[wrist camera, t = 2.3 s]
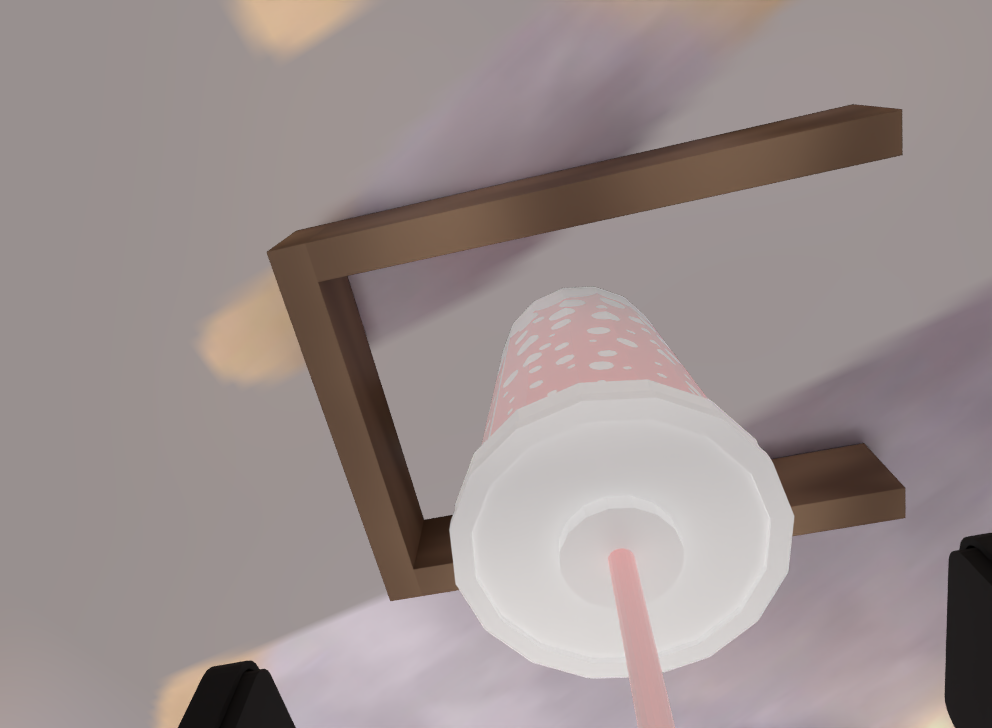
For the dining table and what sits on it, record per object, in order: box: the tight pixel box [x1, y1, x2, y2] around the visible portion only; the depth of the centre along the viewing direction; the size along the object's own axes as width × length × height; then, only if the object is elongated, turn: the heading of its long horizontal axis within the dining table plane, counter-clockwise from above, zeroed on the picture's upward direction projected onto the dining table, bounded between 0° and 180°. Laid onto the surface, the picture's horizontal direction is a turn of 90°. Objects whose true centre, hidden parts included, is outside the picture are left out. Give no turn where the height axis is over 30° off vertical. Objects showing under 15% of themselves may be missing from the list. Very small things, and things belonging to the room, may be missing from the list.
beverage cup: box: [449, 286, 794, 728], centre depth 14 cm, size 6×6×14 cm
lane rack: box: [267, 104, 905, 601], centre depth 20 cm, size 15×11×2 cm
